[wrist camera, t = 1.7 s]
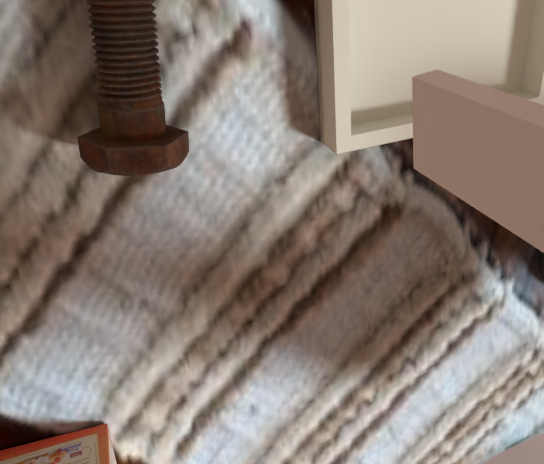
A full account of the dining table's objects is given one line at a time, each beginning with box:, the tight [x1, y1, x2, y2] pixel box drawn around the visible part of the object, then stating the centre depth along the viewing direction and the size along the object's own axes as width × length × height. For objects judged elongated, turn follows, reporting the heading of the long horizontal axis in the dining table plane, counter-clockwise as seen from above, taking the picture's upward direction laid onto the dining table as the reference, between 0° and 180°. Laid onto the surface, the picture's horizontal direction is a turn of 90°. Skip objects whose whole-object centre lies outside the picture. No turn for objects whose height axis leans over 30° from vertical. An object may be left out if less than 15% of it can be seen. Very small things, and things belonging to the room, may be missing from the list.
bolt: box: [78, 0, 189, 176], centre depth 24 cm, size 6×5×15 cm
